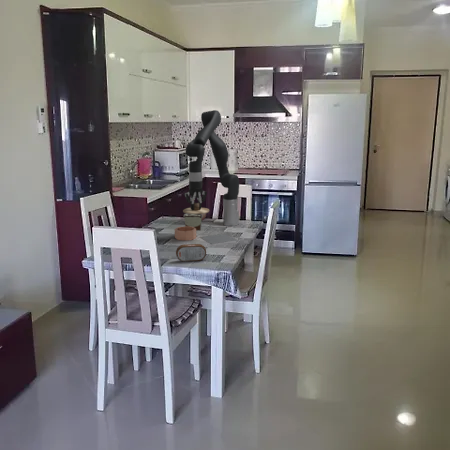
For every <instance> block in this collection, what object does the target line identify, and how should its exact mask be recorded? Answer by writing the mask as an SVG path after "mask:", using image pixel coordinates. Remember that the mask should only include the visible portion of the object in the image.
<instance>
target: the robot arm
mask: <svg viewBox="0 0 450 450" xmlns="http://www.w3.org/2000/svg"><path fill="white" fill-rule="evenodd" d="M200 120H201V124H202V128H201V129H200V130H198V132H197V133H196V135H195V137H194V138H193V139H192V140H191V141H190V142H189V143H188V144H187V145H186V148H185V154H186V155H187V157H190V158H196V159H195V160H193V161H190V162H189V164H188V165H189V167H188V170H189V172H188V173H189V174H188V189H189V190H188V192H184V197H185V200H186V203H188V204H190V208H191V209H192V210H194V203H195V200H196V199H197V203H199V210H201V208H203V207H202V203H204V202H205V201H206V199H207V194H208V192H207V191H205V190H204V189H203V169H202V166H203V161H204V156H205V152H206V149H205V146H206V145H207V143H208V142H209V145H210V147H211V152H212V155H213V158H214V160H215V164H216V167H217V171H218V176H219V182H220V184H221V186H222V187H224V188H226V189H227V193H224V194H223V197H222V198H223V199H222V202H223V203H222V204H223V207H222V209H223V214H222V215H223V217H222V218H223V226H226V227H235V226H238V225H239V224H240V215H239V214H240V213H239V212H240V211H239V209H238V203H239V202H238V196H239V194H240V179H239V176H238V175H237V174H233V173H230V172H229V168H228V162H229V161H228V160H229V152H228V148H227V145H226V143H225V142H224V140H223V139H221V137H220V136H218V134H217V133H216V132H215V130H216V129H217V128H218V127H219V126H220V125H221V122H222V115H221V112H220V111H219V110H216V109H215V110H209V111H208V110H207V111H204V112H202V113H201V115H200Z"/></svg>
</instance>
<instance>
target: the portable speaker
mask: <svg viewBox="0 0 450 450" xmlns="http://www.w3.org/2000/svg"><path fill="white" fill-rule="evenodd" d="M175 255H176V257H177V259H178V260H179V261H181V262H184V263H185V261H186V262H201V261H203V260H204V259H206V256H207V249H206V247H205V246H204V245H203V244H201V243H194V244H193V243H190V244H189V243H188V244H187V243H184V244H180V245H179V246H178V247H177V248H176V250H175Z"/></svg>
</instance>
